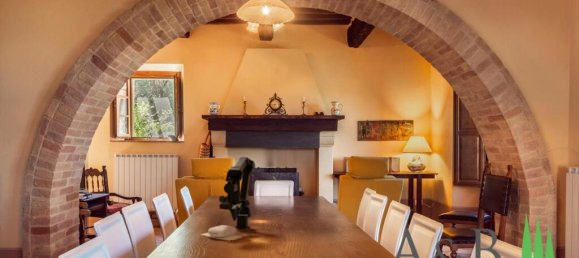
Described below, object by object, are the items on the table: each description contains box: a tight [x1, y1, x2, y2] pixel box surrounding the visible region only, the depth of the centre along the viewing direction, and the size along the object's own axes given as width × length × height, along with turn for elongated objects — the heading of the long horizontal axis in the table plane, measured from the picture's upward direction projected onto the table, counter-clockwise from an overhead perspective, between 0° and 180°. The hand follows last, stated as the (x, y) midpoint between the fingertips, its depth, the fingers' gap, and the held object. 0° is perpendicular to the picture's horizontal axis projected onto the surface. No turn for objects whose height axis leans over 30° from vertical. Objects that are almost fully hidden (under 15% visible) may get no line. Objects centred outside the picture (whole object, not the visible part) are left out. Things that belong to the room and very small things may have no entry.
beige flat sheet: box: [200, 232, 243, 242], centre depth 231 cm, size 9×20×1 cm, turn 58°
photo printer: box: [207, 224, 237, 238], centre depth 230 cm, size 10×4×12 cm
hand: (234, 220), depth 240 cm, fingers closed
